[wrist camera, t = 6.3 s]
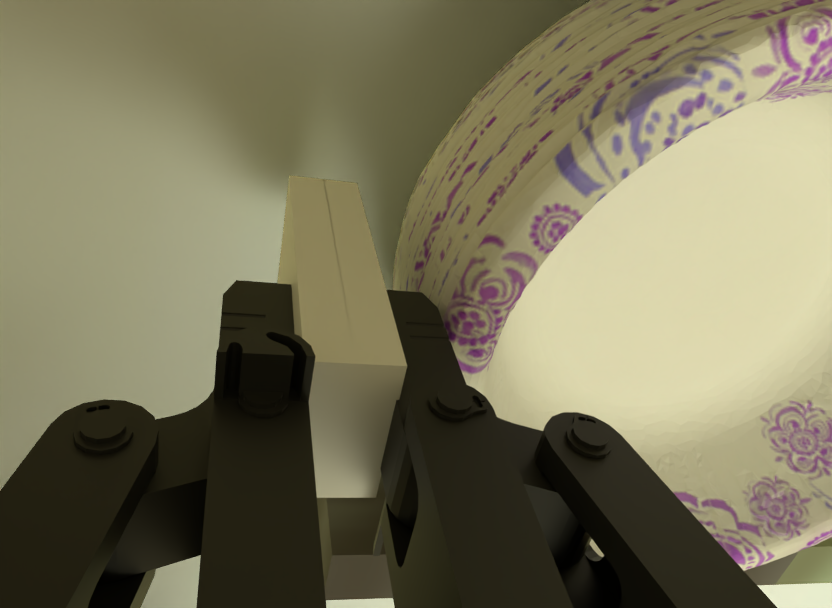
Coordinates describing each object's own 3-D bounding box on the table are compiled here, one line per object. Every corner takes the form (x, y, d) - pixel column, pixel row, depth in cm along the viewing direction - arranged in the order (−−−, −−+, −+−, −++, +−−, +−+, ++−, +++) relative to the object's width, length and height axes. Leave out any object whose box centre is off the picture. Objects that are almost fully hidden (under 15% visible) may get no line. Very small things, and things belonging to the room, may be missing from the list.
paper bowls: (577, 468, 27) (677, 665, 21) (261, 245, 20) (261, 447, 13) (934, 190, 23) (1200, 329, 16) (704, -229, 15) (1028, -278, 9)
